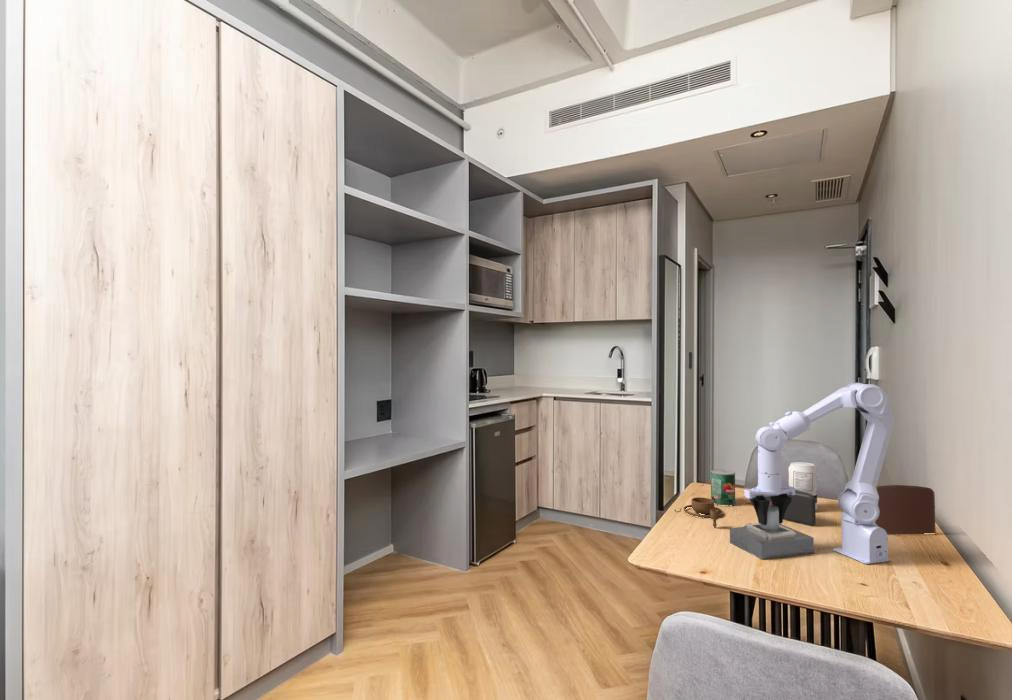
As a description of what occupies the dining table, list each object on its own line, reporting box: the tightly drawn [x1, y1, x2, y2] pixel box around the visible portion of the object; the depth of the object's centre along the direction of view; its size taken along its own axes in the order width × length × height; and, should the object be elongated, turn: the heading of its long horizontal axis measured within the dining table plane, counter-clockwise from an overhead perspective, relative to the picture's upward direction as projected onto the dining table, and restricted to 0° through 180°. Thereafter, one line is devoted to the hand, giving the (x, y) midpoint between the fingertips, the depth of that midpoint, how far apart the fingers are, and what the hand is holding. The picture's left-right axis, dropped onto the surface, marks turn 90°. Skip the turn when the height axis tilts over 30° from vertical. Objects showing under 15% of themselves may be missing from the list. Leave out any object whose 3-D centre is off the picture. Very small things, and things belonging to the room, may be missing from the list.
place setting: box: [674, 496, 723, 529], centre depth 164 cm, size 18×20×6 cm
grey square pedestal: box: [729, 522, 815, 560], centre depth 139 cm, size 16×16×5 cm
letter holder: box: [875, 484, 937, 534], centre depth 151 cm, size 10×20×14 cm, turn 89°
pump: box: [761, 504, 780, 531], centre depth 137 cm, size 4×4×6 cm
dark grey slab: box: [764, 490, 817, 526], centre depth 160 cm, size 16×5×9 cm, turn 39°
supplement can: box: [788, 461, 818, 511], centre depth 171 cm, size 8×8×15 cm
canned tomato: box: [710, 468, 736, 507], centre depth 178 cm, size 8×8×11 cm
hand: (770, 523), depth 137 cm, fingers closed on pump, 4 cm apart
